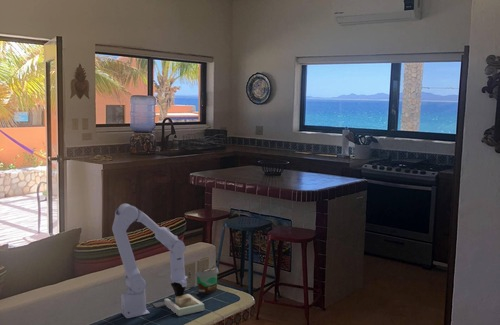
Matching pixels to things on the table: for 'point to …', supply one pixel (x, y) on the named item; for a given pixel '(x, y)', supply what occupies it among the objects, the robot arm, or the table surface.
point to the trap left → (159, 304)
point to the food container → (207, 280)
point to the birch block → (183, 301)
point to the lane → (179, 311)
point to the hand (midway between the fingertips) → (179, 299)
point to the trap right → (195, 296)
